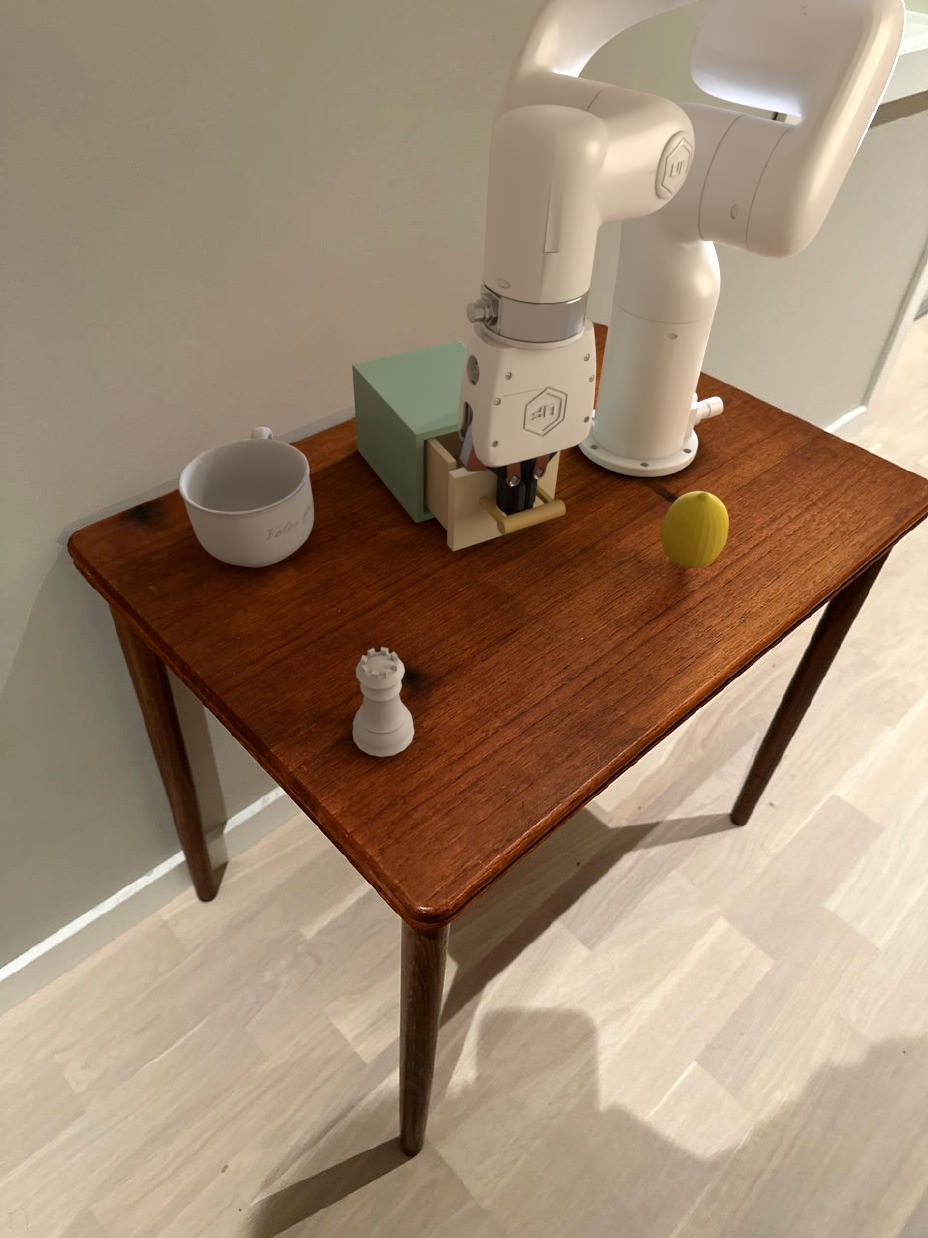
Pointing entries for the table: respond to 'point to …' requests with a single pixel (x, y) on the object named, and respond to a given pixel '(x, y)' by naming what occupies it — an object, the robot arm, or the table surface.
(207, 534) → the teacup
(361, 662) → the rook chess piece
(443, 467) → the drawer
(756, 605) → the table surface
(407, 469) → the cabinet
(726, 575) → the table surface
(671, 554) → the lemon
